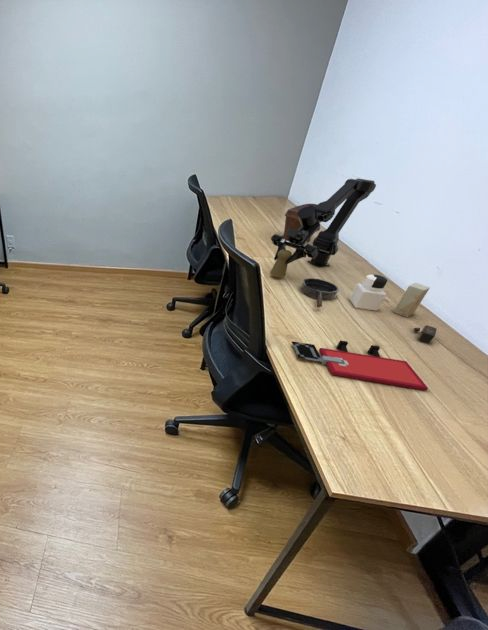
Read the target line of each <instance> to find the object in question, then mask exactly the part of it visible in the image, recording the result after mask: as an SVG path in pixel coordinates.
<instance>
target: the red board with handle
mask: <svg viewBox="0 0 488 630" xmlns="http://www.w3.org/2000/svg"><path fill="white" fill-rule="evenodd" d="M348 344H349V342H348V341H346V340H339V341H338V343H337V345H336V346H335V347H336V349H331V348H325V347H319V349H317V347H316V345H315V344H312V343H305V342H299V341H292V340H291V345H292V346H293V349H294V351H295V354H296V356H297V358H298V359H303V360H309V361H315V362H320V364H321V365H323V366H326V367H327V369H328V371H329V373H330V374H331V375H333V376H339V377H345V378H349V379H356V380H361V381H369V382H374V383H379V384H384V385H385V384H386V385H391V386H397V387H404V388H408V389H414V390H420V391H428V389H429V387H428V386H427V385H426V383H425V382H424V381H423V380H422V378H421V377H420V376H419V375H418V373H416V371H415V370H414V369H413V368H412V366H411V365H410V364H409V363H408V362H407V360H401V359H395V358H388V357H381V356H380V353H379V350H380V349H381V347H380V345H373V344H371V345H370V347H369V348H368V349H367V354H362V353H357V352H349V351H348V347H347V346H348Z"/></svg>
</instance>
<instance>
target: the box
mask: <svg viewBox="0 0 488 630" xmlns="http://www.w3.org/2000/svg"><path fill="white" fill-rule="evenodd" d="M430 289H431V287H430V286H427V285H424V284H421V283H418V282H414V283H412V284H409V285H408V287H407V288H406V290H405V292H404V293H403V294H402V297H401V298H400V300H399V301H398V303H397V305H396V307H395V308H394V310H393V313H394V314H397V315H400V316H403V317H405V318H408V317H410V316H413V315H414V314H415V312H416V311H417V309H418V308H419V306H420V304H421V303H422V301H423V300H424V298H425V297H426V295H427V293H428V292H429V290H430Z"/></svg>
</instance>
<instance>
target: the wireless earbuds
mask: <svg viewBox="0 0 488 630" xmlns="http://www.w3.org/2000/svg"><path fill="white" fill-rule="evenodd" d="M437 329H438V328H437V327H434V326H431V325H427V324H426V325H424V326H423V328H422V330H421V327H419V326H418V327H414V328H413V331H414V332H416V333H418V332H420V333H419V336H418V340H419V341H420V342H423V343H426V344H430V343H431V342H432V341H433V339H435V338H434V337H435V336H436V333H437V331H438V330H437Z"/></svg>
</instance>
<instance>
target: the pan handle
mask: <svg viewBox="0 0 488 630" xmlns="http://www.w3.org/2000/svg"><path fill="white" fill-rule="evenodd" d="M316 307H318V308H322V307H323V300H322V292H319V291H318V293H317V299H316Z"/></svg>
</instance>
